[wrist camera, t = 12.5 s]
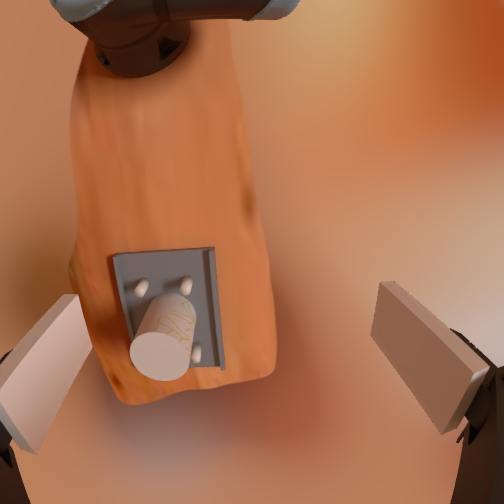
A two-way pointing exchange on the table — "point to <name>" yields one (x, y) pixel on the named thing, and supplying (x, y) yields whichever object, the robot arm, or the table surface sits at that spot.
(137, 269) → the tray
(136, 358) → the cup
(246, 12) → the robot arm
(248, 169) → the table surface
